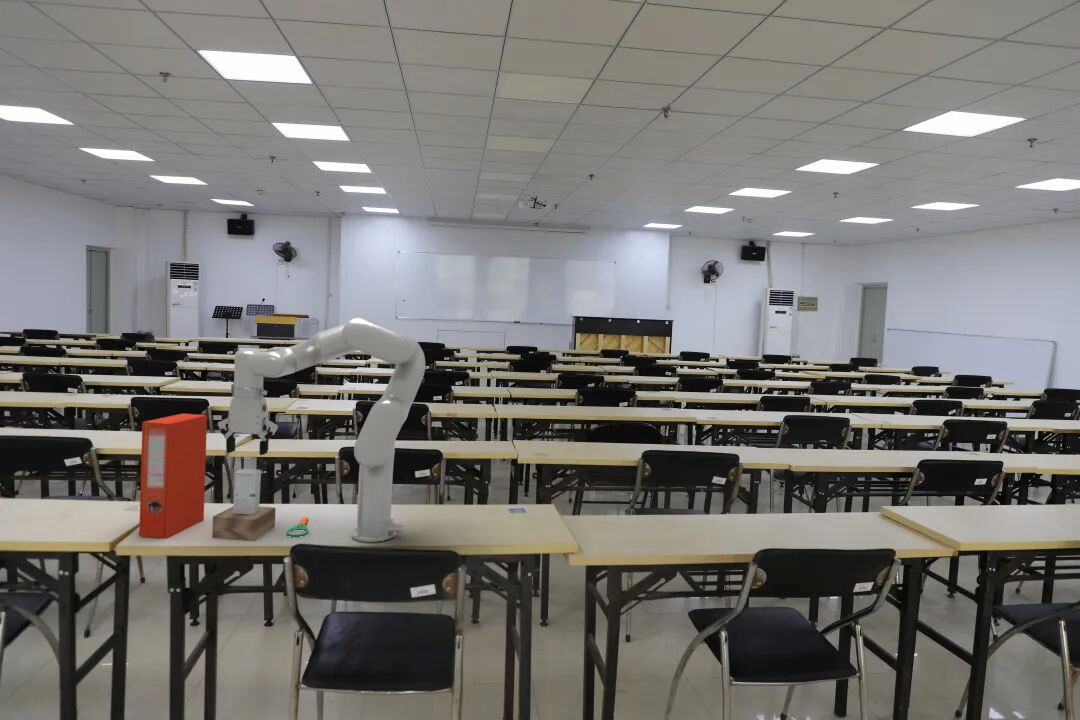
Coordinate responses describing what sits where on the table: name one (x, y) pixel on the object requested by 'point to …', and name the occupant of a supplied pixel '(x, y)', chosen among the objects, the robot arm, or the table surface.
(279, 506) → the table surface
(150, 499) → the file binder
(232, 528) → the walnut block
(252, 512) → the skincare box
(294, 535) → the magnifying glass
